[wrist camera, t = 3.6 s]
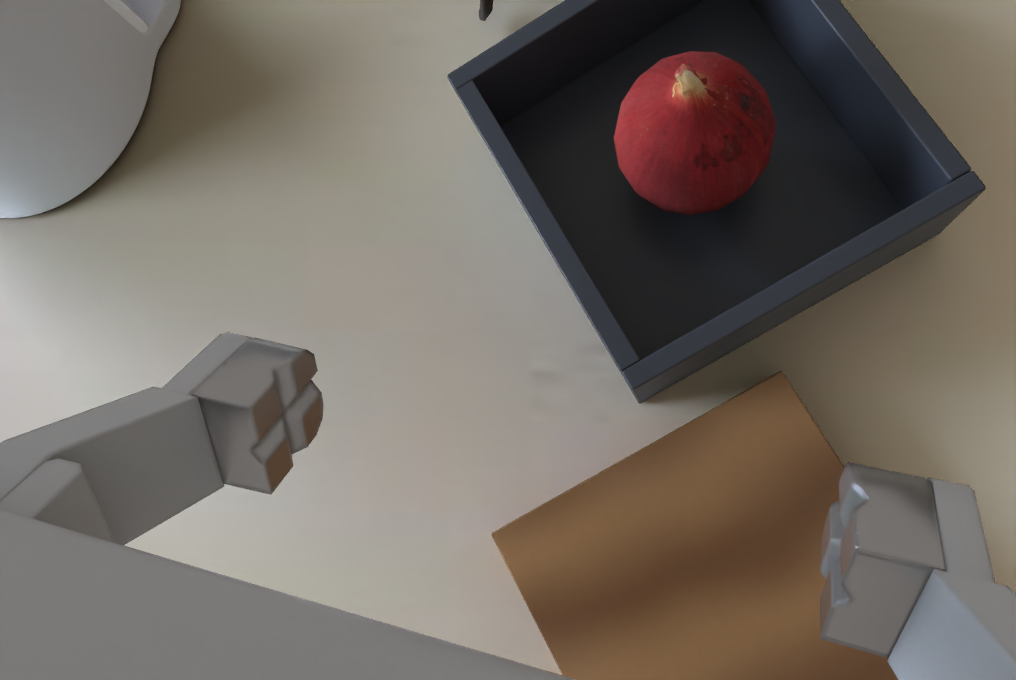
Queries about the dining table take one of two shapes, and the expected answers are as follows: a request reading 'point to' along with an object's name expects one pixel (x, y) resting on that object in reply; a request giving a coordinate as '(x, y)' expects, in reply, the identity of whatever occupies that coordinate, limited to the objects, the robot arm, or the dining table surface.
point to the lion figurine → (485, 9)
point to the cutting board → (693, 554)
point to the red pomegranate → (694, 132)
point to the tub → (744, 222)
